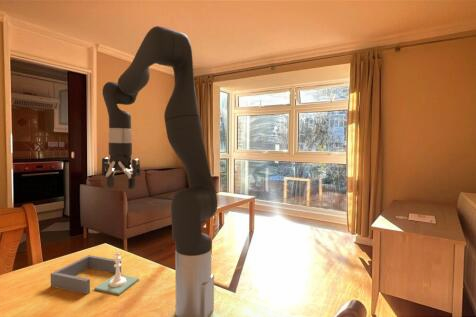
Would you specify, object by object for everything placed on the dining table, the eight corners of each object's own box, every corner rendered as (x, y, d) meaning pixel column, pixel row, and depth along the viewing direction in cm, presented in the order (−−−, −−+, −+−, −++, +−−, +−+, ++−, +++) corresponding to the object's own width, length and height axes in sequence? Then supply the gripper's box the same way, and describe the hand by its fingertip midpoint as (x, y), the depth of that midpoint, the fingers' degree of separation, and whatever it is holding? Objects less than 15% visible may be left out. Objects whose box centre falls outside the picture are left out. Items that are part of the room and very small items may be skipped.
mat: (139, 280, 88) (139, 278, 88) (119, 295, 80) (119, 293, 80) (116, 275, 91) (116, 273, 91) (94, 289, 82) (94, 287, 82)
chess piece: (119, 288, 82) (119, 255, 82) (105, 286, 83) (105, 253, 83) (129, 280, 87) (129, 249, 87) (116, 278, 88) (115, 247, 88)
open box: (121, 271, 94) (121, 260, 93) (86, 294, 80) (86, 281, 80) (89, 265, 98) (88, 255, 97) (50, 286, 84) (50, 273, 84)
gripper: (144, 142, 97) (144, 187, 98) (111, 141, 101) (112, 185, 102) (130, 142, 89) (130, 191, 91) (95, 141, 94) (96, 188, 95)
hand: (120, 188), depth 96 cm, fingers open, 8 cm apart
